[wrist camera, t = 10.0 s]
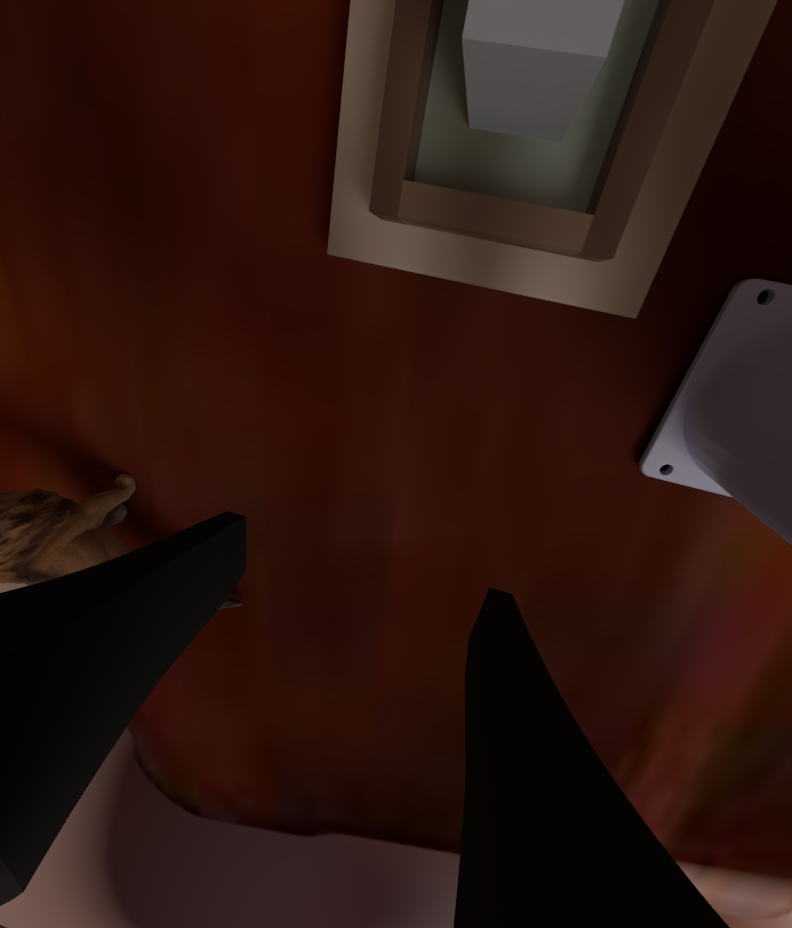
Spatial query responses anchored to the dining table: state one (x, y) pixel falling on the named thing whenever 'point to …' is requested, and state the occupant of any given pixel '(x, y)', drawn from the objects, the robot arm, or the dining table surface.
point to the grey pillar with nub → (533, 62)
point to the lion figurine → (61, 533)
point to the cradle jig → (532, 152)
